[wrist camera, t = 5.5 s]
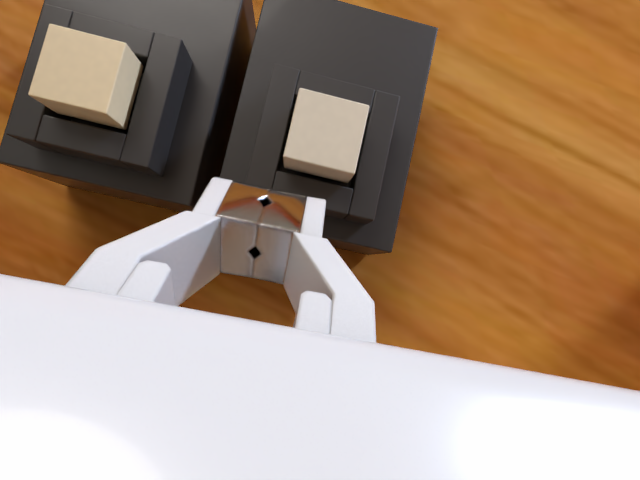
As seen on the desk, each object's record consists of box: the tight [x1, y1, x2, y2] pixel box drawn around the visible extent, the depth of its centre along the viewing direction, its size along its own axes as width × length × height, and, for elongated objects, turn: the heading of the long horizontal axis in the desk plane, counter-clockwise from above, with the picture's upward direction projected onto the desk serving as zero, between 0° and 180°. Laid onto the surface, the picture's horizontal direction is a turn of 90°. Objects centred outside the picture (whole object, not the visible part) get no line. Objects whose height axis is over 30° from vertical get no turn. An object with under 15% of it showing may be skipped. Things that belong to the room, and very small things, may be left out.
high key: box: [28, 24, 143, 130], centre depth 15 cm, size 3×3×2 cm
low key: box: [283, 88, 369, 183], centre depth 16 cm, size 3×3×2 cm
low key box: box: [220, 0, 438, 255], centre depth 20 cm, size 12×9×7 cm
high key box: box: [0, 0, 256, 212], centre depth 19 cm, size 12×9×7 cm
